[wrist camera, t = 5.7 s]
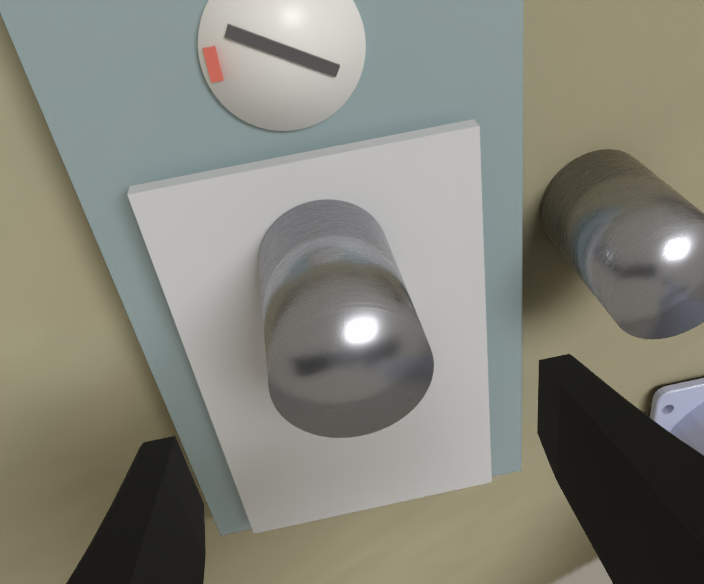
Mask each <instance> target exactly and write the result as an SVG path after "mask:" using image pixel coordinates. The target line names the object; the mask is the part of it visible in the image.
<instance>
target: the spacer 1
mask: <svg viewBox="0 0 704 584" xmlns="http://www.w3.org/2000/svg"><path fill="white" fill-rule="evenodd" d="M258 266H259V278H260V290H261V302H262V315H263V327H264V339H265V351H266V363H267V376H268V387H269V393H270V397H271V400H272V402H273V404H274V406H275V408H276V409H277V411H278V412H279V413H280V414H281V416H282V417H283V418H284V419H286V420H287V421H288V422H289V423H291V424H292V425H293V426H295V427H297V428H299V429H301V430H303V431H305V432H308V433H311V434H314V435H318V436H323V437H330V438H350V437H357V436H363V435H367V434H371V433H374V432H377V431H380V430H382V429H384V428H386V427H389V426H391V425H392V424H394V423H396V422H398V421H399V420H401V419H402V418H403V417H405V416H406V415H407V414H409V413H410V412H411V411H412V410H413V409H414V408H415V407H416V406H417V405H418V404H419V403H420V401H421V400H422V398H423V397H424V396H425V394H426V392H427V390H428V388H429V386H430V383H431V381H432V377H433V372H434V360H433V354H432V351H431V348H430V345H429V343H428V340H427V338H426V335H425V333H424V330H423V328H422V325H421V323H420V320H419V318H418V315H417V313H416V310H415V308H414V305H413V303H412V300H411V298H410V295H409V293H408V290H407V288H406V286H405V283H404V281H403V278H402V276H401V273H400V271H399V268H398V266H397V263H396V261H395V258H394V256H393V253H392V251H391V248H390V246H389V243H388V241H387V238H386V236H385V233H384V231H383V229H382V228H381V226H380V224H379V223H378V222H377V220H376V219H375V218H374V217H373V216H372V215H371V214H369V213H368V212H367V211H366V210H364V209H362V208H360V207H359V206H357V205H354V204H352V203H349V202H345V201H341V200H333V199H323V200H314V201H310V202H306V203H303V204H300V205H298V206H296V207H294V208H292V209H290V210H288V211H287V212H285V213H284V214H282V215H281V216H280V217H279V218H278V219H276V220H275V221H274V223H273V224H272V225H271V226H270V227H269V229H268V230H267V232H266V233H265V235H264V237H263V239H262V242H261V245H260V248H259V254H258Z"/></svg>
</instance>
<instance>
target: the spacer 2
mask: <svg viewBox="0 0 704 584" xmlns="http://www.w3.org/2000/svg"><path fill="white" fill-rule="evenodd" d="M540 218H541V223H542V226H543V229H544V231H545V233H546V234H547V236H548V237H549V238H550V239H551V241H552V242H553V243H554V244H555V246H556V247H557V248H558V250H559V251H560V252H561V253H562V255H563V256H564V257H565V258H566V260H567V261H568V262H569V263H570V265H571V266H572V267H573V269H574V270H575V271H576V272H577V274H578V275H579V276H580V277H581V279H582V280H583V281H584V282H585V284H586V285H587V286H588V288H589V289H590V290H591V291H592V293H593V294H594V295H595V296H596V298H597V299H598V300H599V301H600V303H601V304H602V305H603V307H604V308H605V309H606V310H607V312H608V313H609V314H610V315H611V317H612V318H613V319H614V320H615V322H616V323H617V324H618V325H619V327H620V328H621V329H622V330H624V331H625V332H626V333H628V334H630V335H632V336H635V337H638V338H643V339H662V338H668V337H672V336H676V335H678V334H681V333H684V332H686V331H688V330H690V329H693V328H694V327H696V326H698V325H700V324H701V323H703V322H704V213H703V212H701V211H700V210H699V209H698V208H696V207H695V206H694V205H693V204H691V203H690V202H689V201H688V200H686V199H685V198H684V197H683V196H681V195H680V194H679V193H678V192H676V191H675V190H674V189H673V188H671V187H670V186H669V185H668V184H666V183H665V182H664V181H663V180H661V179H660V178H659V177H658V176H656V175H655V174H654V173H653V172H651V171H650V170H649V169H648V168H646V167H645V166H644V165H643V164H641V163H640V162H639V161H638V160H637V159H635V158H634V157H632V156H631V155H629V154H627V153H625V152H622V151H619V150H612V149H605V150H597V151H593V152H590V153H587V154H584V155H582V156H580V157H578V158H576V159H575V160H573V161H572V162H570V163H569V164H567V165H566V166H565V167H564V168H562V169H561V170H560V171H559V172H558V173H557V175H556V176H555V177H554V178H553V179H552V181H551V182H550V184H549V185H548V187H547V189H546V191H545V193H544V196H543V199H542V203H541V209H540Z"/></svg>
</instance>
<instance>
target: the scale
mask: <svg viewBox="0 0 704 584" xmlns="http://www.w3.org/2000/svg"><path fill="white" fill-rule="evenodd" d="M0 13H1V16H2V18H3V20H4V23H5V25H6V27H7V30H8V32H9V35H10V37H11V39H12V42H13V44H14V46H15V49H16V51H17V54H18V56H19V58H20V61H21V63H22V65H23V68H24V70H25V72H26V75H27V77H28V80H29V82H30V84H31V87H32V89H33V91H34V94H35V96H36V99H37V101H38V103H39V106H40V108H41V110H42V113H43V115H44V118H45V120H46V122H47V125H48V127H49V129H50V132H51V134H52V137H53V139H54V141H55V144H56V146H57V148H58V151H59V153H60V155H61V158H62V160H63V163H64V165H65V167H66V170H67V172H68V174H69V177H70V179H71V182H72V184H73V186H74V189H75V191H76V193H77V196H78V198H79V201H80V203H81V205H82V208H83V210H84V212H85V215H86V217H87V220H88V222H89V224H90V227H91V229H92V231H93V234H94V236H95V238H96V241H97V243H98V246H99V248H100V250H101V253H102V255H103V257H104V260H105V262H106V265H107V267H108V269H109V272H110V274H111V276H112V279H113V281H114V284H115V286H116V288H117V291H118V293H119V295H120V298H121V300H122V302H123V305H124V307H125V310H126V312H127V314H128V317H129V319H130V321H131V324H132V326H133V329H134V331H135V333H136V336H137V338H138V340H139V343H140V345H141V348H142V350H143V352H144V355H145V357H146V359H147V362H148V364H149V367H150V369H151V371H152V374H153V376H154V378H155V381H156V383H157V385H158V388H159V390H160V393H161V395H162V397H163V400H164V402H165V404H166V407H167V409H168V412H169V414H170V416H171V419H172V421H173V423H174V426H175V428H176V431H177V433H178V435H179V438H180V440H181V442H182V445H183V447H184V450H185V452H186V454H187V457H188V459H189V461H190V464H191V466H192V468H193V471H194V473H195V476H196V478H197V480H198V483H199V485H200V487H201V490H202V492H203V495H204V497H205V499H206V502H207V504H208V506H209V509H210V511H211V514H212V516H213V518H214V521H215V523H216V525H217V528H218V530H219V532H220V535H221V536H222V535H226V534H231V533H236V532H240V531H245V530H249V529H252V530H253V533H254V534H255V533H260V532H265V531H269V530H274V529H278V528H283V527H288V526H292V525H297V524H301V523H306V522H311V521H315V520H320V519H324V518H329V517H334V516H338V515H343V514H347V513H352V512H357V511H361V510H366V509H370V508H375V507H379V506H384V505H389V504H393V503H398V502H402V501H407V500H412V499H416V498H421V497H425V496H430V495H435V494H439V493H444V492H448V491H453V490H458V489H462V488H467V487H471V486H476V485H481V484H485V483H490V482H492V477H493V476H498V475H502V474H507V473H512V472H516V471H521V425H522V209H523V0H0ZM323 199H333V200H341V201H345V202H349V203H352V204H354V205H357V206H359V207H360V208H362V209H364V210H366V211H367V212H368V213H369V214H371V215H372V216H373V217H374V218H375V219H376V220H377V222H378V223H379V224H380V226H381V228H382V229H383V231H384V233H385V236H386V238H387V241H388V243H389V246H390V248H391V251H392V253H393V256H394V258H395V261H396V263H397V266H398V268H399V271H400V273H401V276H402V278H403V281H404V283H405V286H406V288H407V290H408V293H409V295H410V298H411V300H412V303H413V305H414V308H415V310H416V313H417V315H418V318H419V320H420V323H421V325H422V328H423V330H424V333H425V335H426V338H427V340H428V343H429V345H430V348H431V351H432V354H433V360H434V372H433V377H432V381H431V383H430V386H429V388H428V390H427V392H426V394H425V396H424V397H423V398H422V400H421V401H420V403H419V404H418V405H417V406H416V407H415V408H414V409H413V410H412V411H411V412H410V413H409V414H407V415H406V416H405V417H403V418H402V419H401V420H399V421H398V422H396V423H394V424H392V425H391V426H389V427H386V428H384V429H382V430H380V431H377V432H374V433H371V434H367V435H363V436H357V437H350V438H330V437H323V436H318V435H314V434H311V433H308V432H305V431H303V430H301V429H299V428H297V427H295V426H293V425H292V424H291V423H289V422H288V421H287V420H286V419H284V418H283V417H282V416H281V414H280V413H279V412H278V411H277V409H276V408H275V406H274V404H273V402H272V400H271V397H270V393H269V387H268V376H267V363H266V351H265V339H264V327H263V315H262V302H261V290H260V278H259V266H258V254H259V248H260V245H261V242H262V239H263V237H264V235H265V233H266V232H267V230H268V229H269V227H270V226H271V225H272V224H273V223H274V221H275V220H276V219H278V218H279V217H280V216H281V215H282V214H284V213H285V212H287V211H288V210H290V209H292V208H294V207H296V206H298V205H300V204H303V203H306V202H310V201H314V200H323Z"/></svg>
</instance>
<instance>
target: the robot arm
mask: <svg viewBox="0 0 704 584" xmlns="http://www.w3.org/2000/svg"><path fill="white" fill-rule="evenodd" d="M537 433H538V435H539V438H540V441H541V443H542V446H543V448H544V451H545V453H546V456H547V458H548V461H549V463H550V466H551V468H552V471H553V473H554V475H555V478H556V480H557V482H558V484H559V486H560V488H561V489H562V491H563V493H564V495H565V497H566V499H567V500H568V502H569V504H570V506H571V508H572V510H573V511H574V513H575V515H576V517H577V519H578V521H579V522H580V524H581V526H582V528H583V530H584V531H585V533H586V535H587V537H588V539H589V540H590V542H591V544H592V546H593V548H594V550H595V551H596V553H597V555H598V557H599V559H600V560H601V562H602V564H603V566H604V568H605V569H606V571H607V573H608V575H609V577H610V578H611V580H612V582H613V584H704V378H701V379H696V380H691V381H686V382H682V383H677V384H672V385H668V386H664V387H661V388H660V389H658V390H657V391H656V392H655V394H654V396H653V400H652V406H651V413H650V417H648V416H647V415H646V414H644V413H643V412H642V411H640V410H639V409H638V408H636V407H635V406H634V405H633V404H631V403H630V402H629V401H627V400H626V399H625V398H624V397H622V396H621V395H620V394H619V393H617V392H616V391H615V390H614V389H612V388H611V387H610V386H609V385H607V384H606V383H605V382H604V381H602V380H601V379H600V378H599V377H598V376H596V375H595V374H594V373H593V372H591V371H590V370H589V369H588V368H587V367H585V366H584V365H583V364H582V363H581V362H579V361H578V360H577V359H576V358H574V357H573V356H572V355H570V354H567V355H562V356H557V357H552V358H547V359H543V360H539V387H538V431H537ZM204 568H205V524H204V503H203V501H202V499H201V496H200V494H199V492H198V489H197V487H196V485H195V482H194V480H193V477H192V475H191V473H190V470H189V468H188V466H187V463H186V461H185V459H184V456H183V454H182V452H181V449H180V447H179V445H178V442H177V440H176V437H175V436H173V437H168V438H163V439H159V440H154V441H149V442H144V443H143V444H142V445H141V447H140V448H139V450H138V452H137V454H136V456H135V459H134V461H133V463H132V465H131V467H130V469H129V471H128V473H127V475H126V477H125V479H124V481H123V483H122V485H121V487H120V489H119V491H118V493H117V495H116V497H115V499H114V501H113V503H112V505H111V507H110V509H109V510H108V512H107V514H106V516H105V518H104V520H103V521H102V523H101V525H100V527H99V529H98V531H97V532H96V534H95V536H94V538H93V540H92V542H91V543H90V545H89V547H88V549H87V550H86V552H85V554H84V555H83V557H82V559H81V560H80V562H79V564H78V565H77V567H76V569H75V570H74V572H73V573H72V575H71V577H70V578H69V580H68V582H67V583H66V584H203V580H204Z"/></svg>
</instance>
